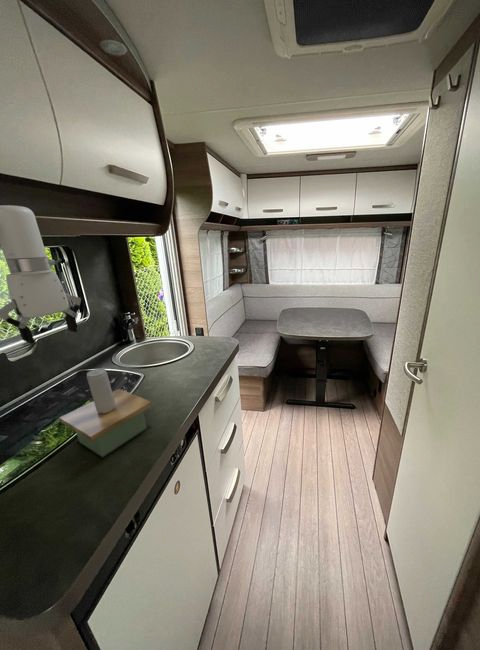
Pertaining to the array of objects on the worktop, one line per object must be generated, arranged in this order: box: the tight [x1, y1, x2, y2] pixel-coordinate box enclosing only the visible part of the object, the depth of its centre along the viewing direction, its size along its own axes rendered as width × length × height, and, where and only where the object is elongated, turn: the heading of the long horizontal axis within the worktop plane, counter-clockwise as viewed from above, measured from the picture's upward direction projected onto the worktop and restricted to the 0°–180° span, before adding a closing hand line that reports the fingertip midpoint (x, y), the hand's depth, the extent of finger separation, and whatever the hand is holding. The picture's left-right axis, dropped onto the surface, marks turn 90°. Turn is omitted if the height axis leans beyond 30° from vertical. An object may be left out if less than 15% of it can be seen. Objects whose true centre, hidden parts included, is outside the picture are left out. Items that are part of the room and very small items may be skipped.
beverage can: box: [86, 368, 115, 414], centre depth 77 cm, size 5×5×12 cm
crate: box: [75, 411, 148, 458], centre depth 82 cm, size 12×14×8 cm
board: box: [58, 388, 153, 441], centre depth 80 cm, size 16×18×2 cm
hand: (52, 336), depth 70 cm, fingers open, 9 cm apart
